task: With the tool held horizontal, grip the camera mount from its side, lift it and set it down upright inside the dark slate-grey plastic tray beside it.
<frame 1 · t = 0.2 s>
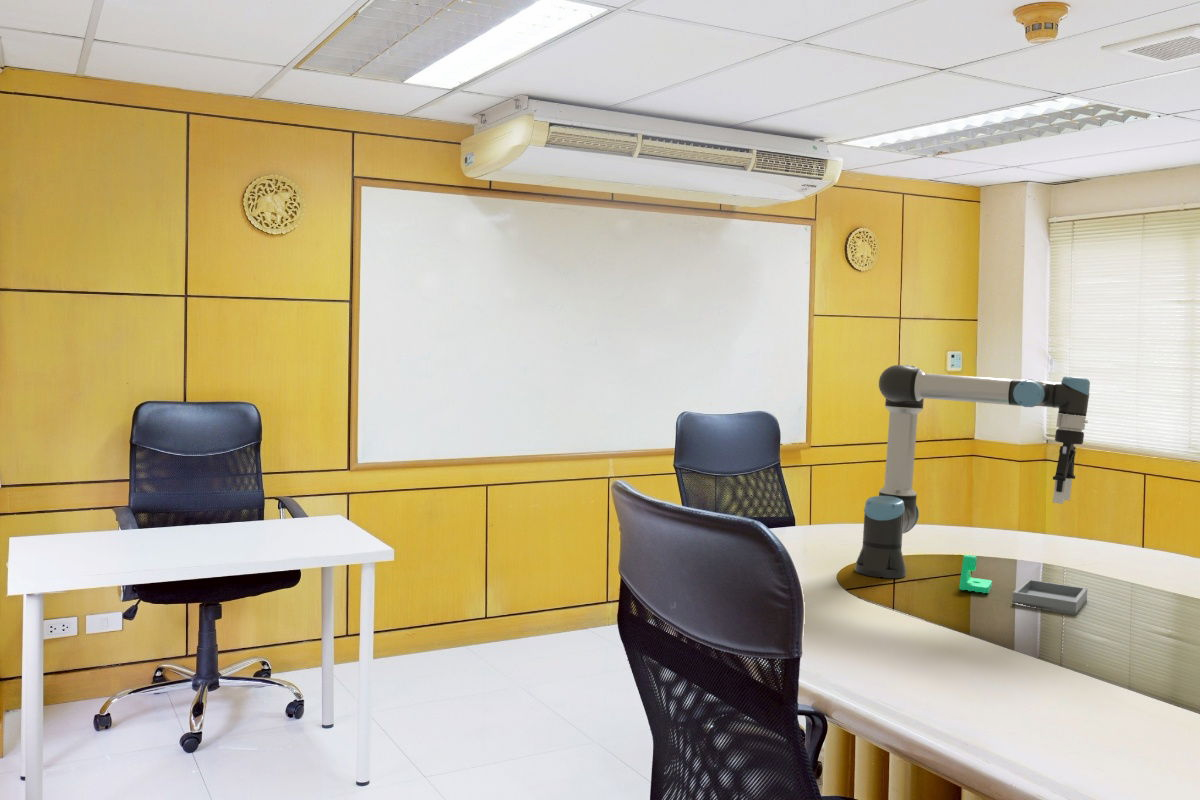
hand: (1061, 501, 292), 27 cm above the table, tool pointing down, fingers open, 13 cm apart
camera mount: (975, 591, 291), on the table
tray: (1050, 602, 280), on the table
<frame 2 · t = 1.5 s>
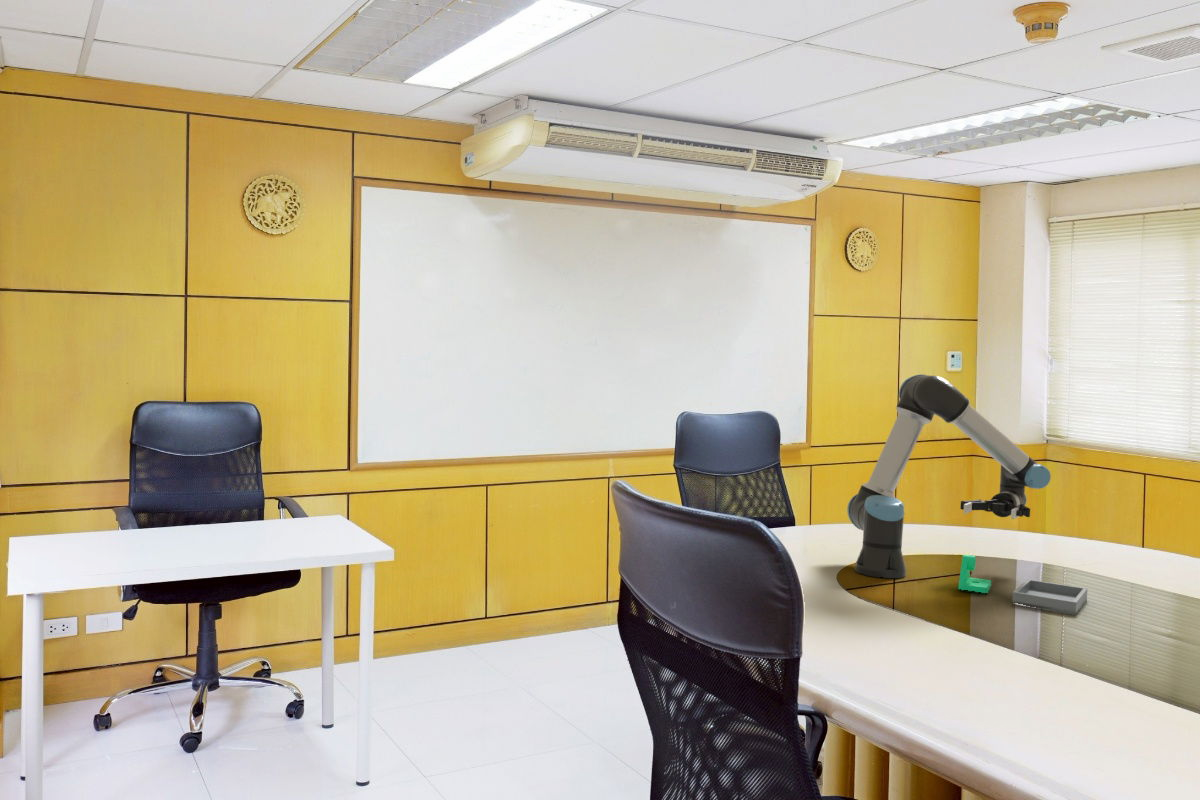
hand: (988, 511, 297), 22 cm above the table, tool horizontal, fingers open, 13 cm apart
nothing on the table moved.
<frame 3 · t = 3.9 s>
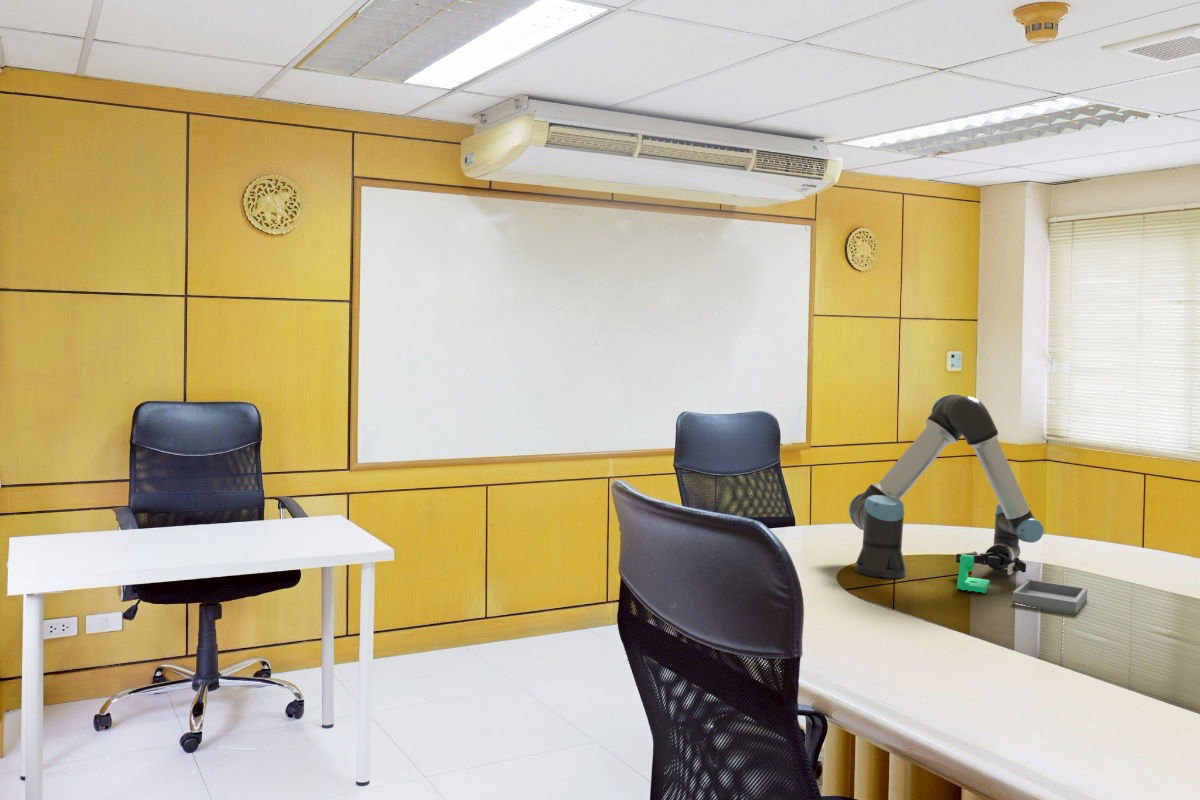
hand: (984, 566, 296), 6 cm above the table, tool horizontal, fingers open, 13 cm apart
nothing on the table moved.
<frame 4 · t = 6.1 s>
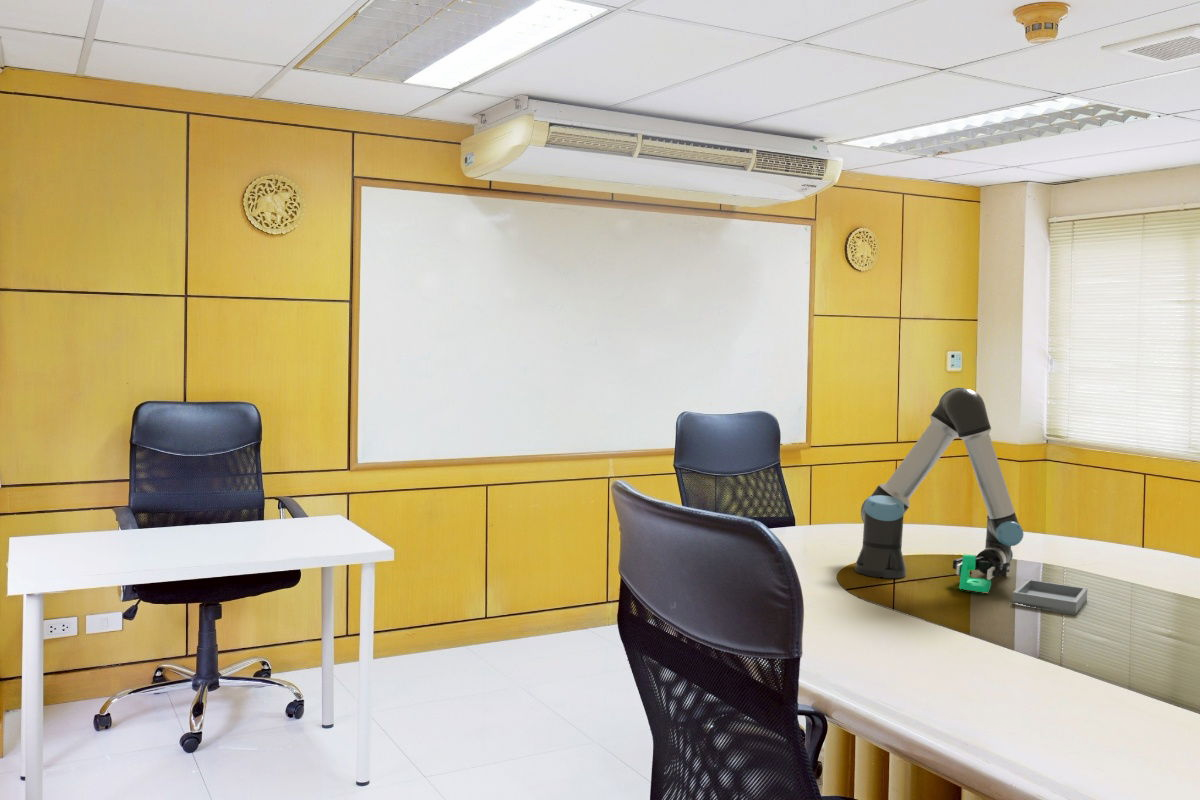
hand: (973, 572, 287), 6 cm above the table, tool horizontal, fingers open, 8 cm apart
camera mount: (975, 591, 291), on the table, touching gripper
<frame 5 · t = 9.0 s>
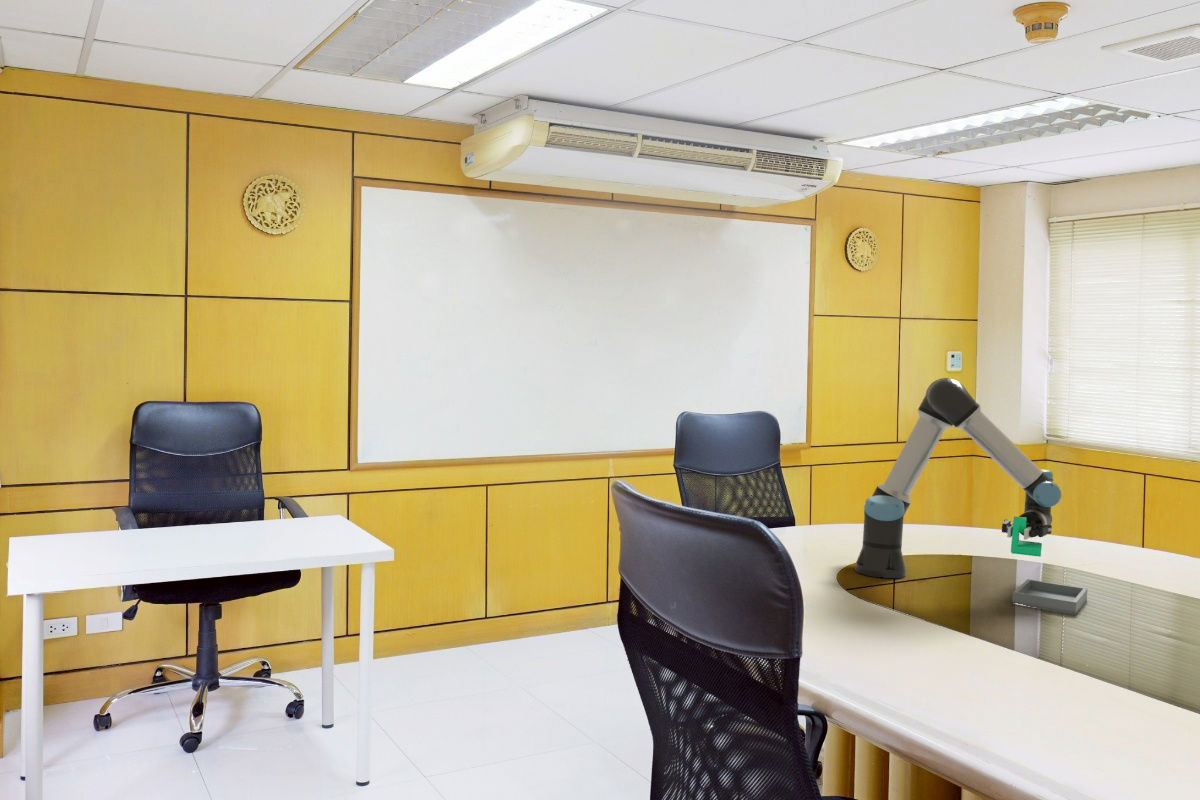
hand: (1017, 533, 280), 19 cm above the table, tool horizontal, fingers closed on camera mount, 4 cm apart
camera mount: (1026, 554, 283), point 13 cm above the table, touching gripper
when the fingers open (8 cm above the table, at t = 11.6 s): camera mount drops 1 cm, resting on tray.
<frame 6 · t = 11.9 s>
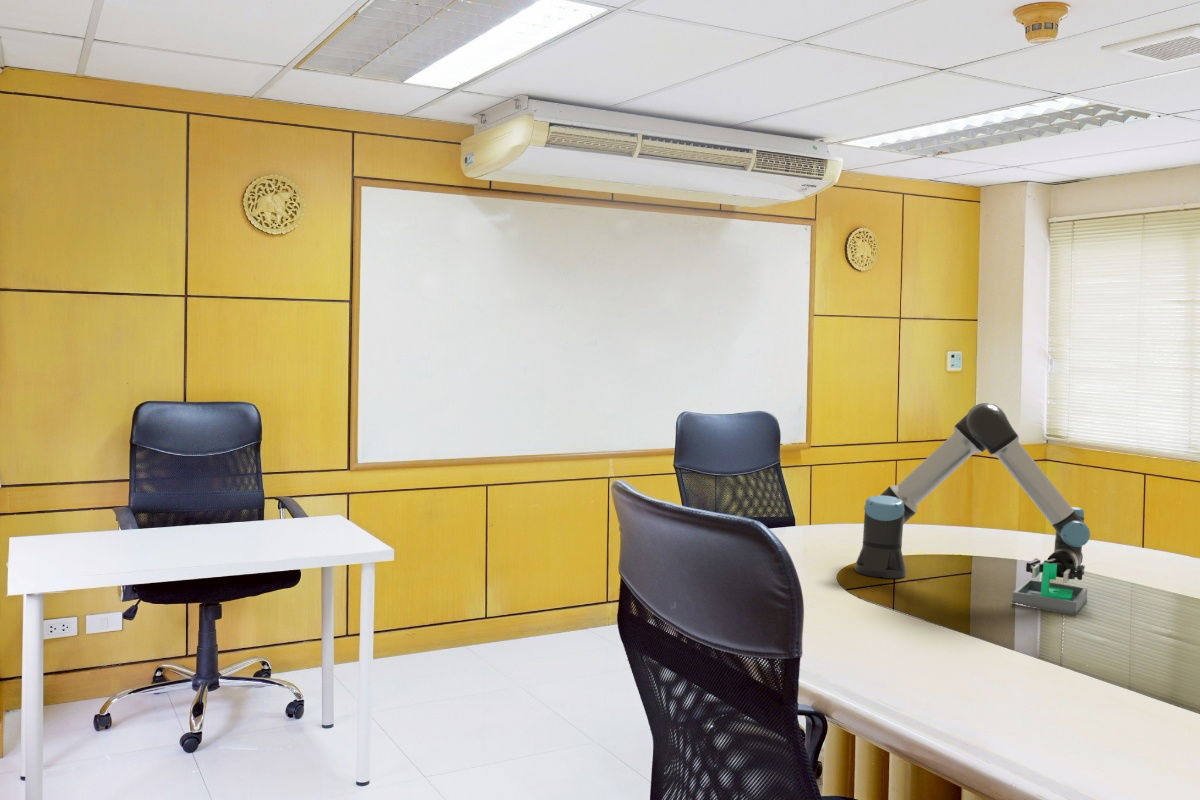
hand: (1049, 575, 275), 8 cm above the table, tool horizontal, fingers open, 7 cm apart
camera mount: (1056, 601, 278), point 1 cm above the table, touching tray
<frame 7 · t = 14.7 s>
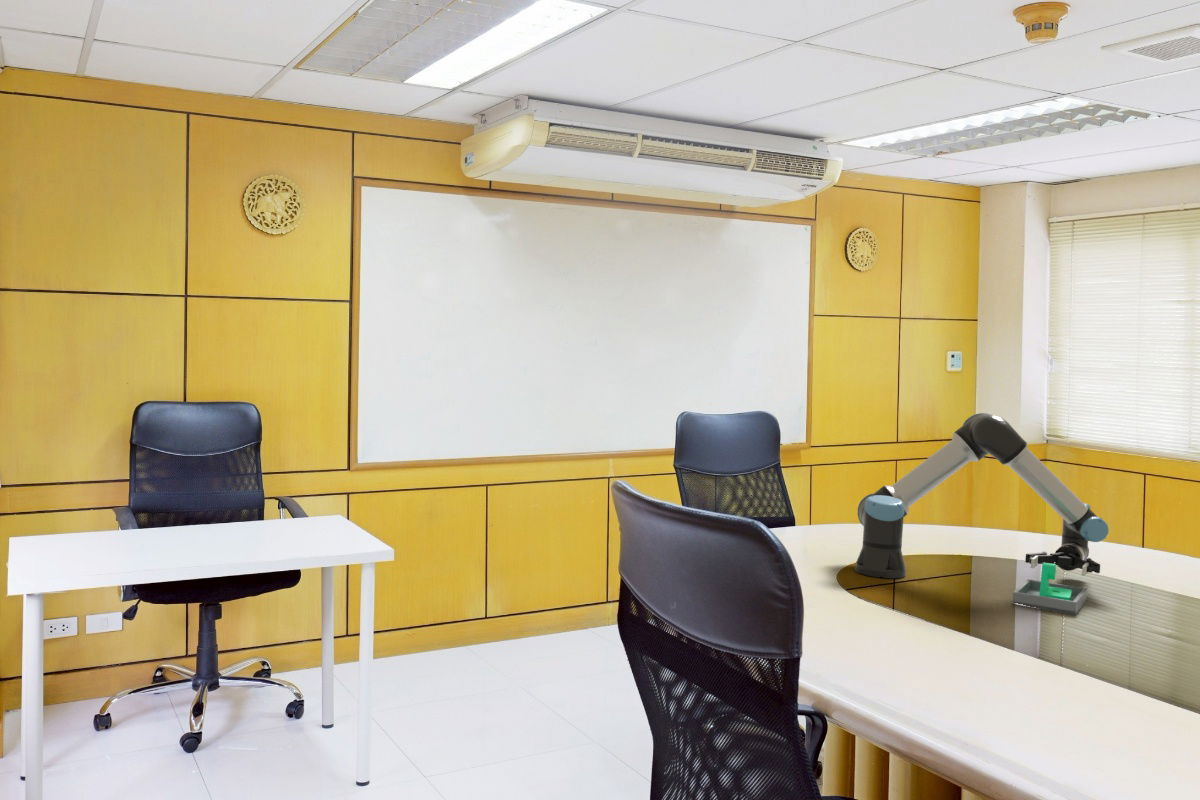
hand: (1057, 567, 287), 9 cm above the table, tool horizontal, fingers open, 13 cm apart
nothing on the table moved.
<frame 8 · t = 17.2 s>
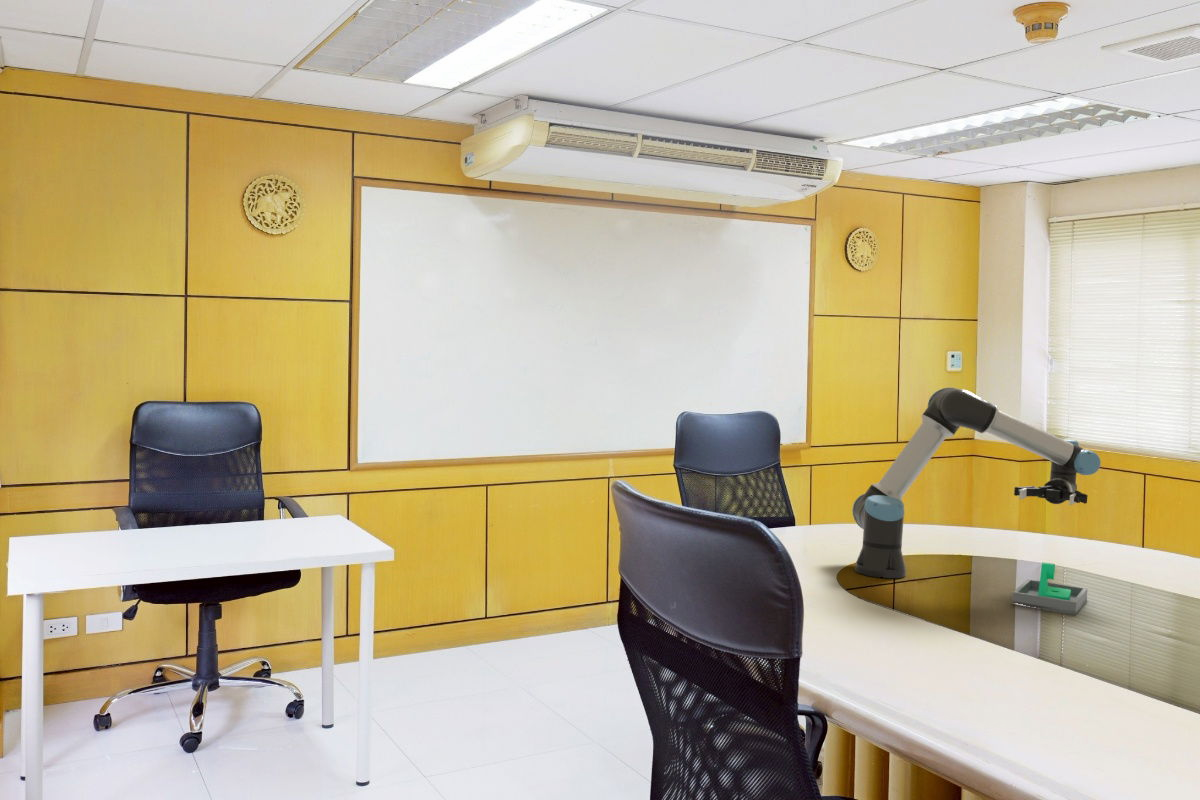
hand: (1045, 497, 292), 28 cm above the table, tool horizontal, fingers open, 13 cm apart
nothing on the table moved.
at the end: camera mount inside the target area on the tray (1.8 cm from its centre), point 0.8 cm above the tray's base; camera mount tilted 0°; the gripper is holding nothing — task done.
